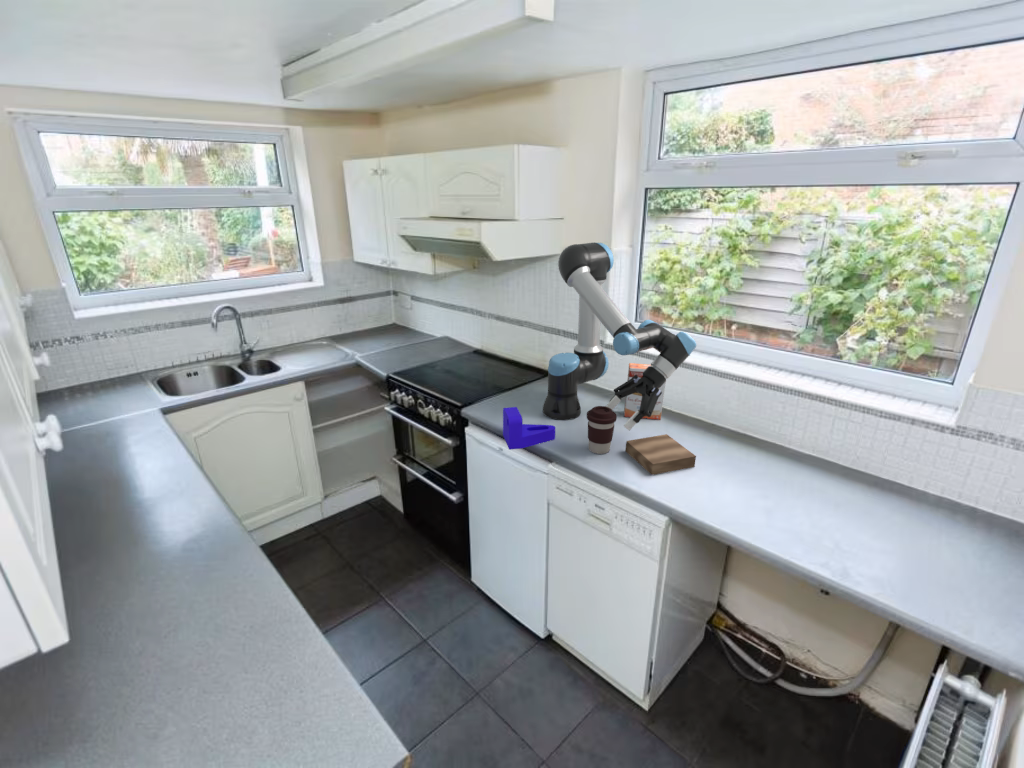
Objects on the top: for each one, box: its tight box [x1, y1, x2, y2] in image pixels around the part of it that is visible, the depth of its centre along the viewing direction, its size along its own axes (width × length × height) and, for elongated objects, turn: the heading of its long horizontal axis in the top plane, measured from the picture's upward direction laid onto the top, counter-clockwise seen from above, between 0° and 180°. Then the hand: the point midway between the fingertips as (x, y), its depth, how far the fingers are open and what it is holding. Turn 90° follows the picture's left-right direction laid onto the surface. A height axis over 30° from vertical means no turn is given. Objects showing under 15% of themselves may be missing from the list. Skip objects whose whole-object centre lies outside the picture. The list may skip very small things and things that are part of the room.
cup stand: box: [625, 433, 697, 476], centre depth 167 cm, size 16×16×4 cm
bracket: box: [502, 406, 556, 450], centre depth 178 cm, size 18×11×12 cm, turn 102°
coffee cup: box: [586, 405, 618, 455], centre depth 171 cm, size 10×10×15 cm
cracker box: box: [623, 362, 667, 421], centre depth 195 cm, size 14×6×21 cm, turn 80°
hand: (615, 419), depth 170 cm, fingers open, 13 cm apart
